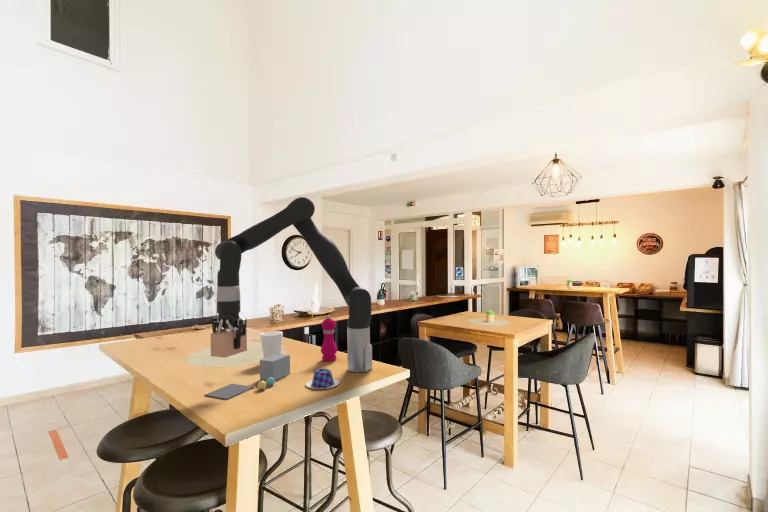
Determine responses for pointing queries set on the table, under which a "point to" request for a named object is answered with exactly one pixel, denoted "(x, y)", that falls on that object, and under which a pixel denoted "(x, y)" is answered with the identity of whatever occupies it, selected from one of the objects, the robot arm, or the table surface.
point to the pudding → (322, 380)
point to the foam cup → (271, 343)
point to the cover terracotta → (226, 344)
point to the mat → (229, 391)
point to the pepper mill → (328, 340)
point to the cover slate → (275, 366)
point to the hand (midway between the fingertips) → (229, 347)
